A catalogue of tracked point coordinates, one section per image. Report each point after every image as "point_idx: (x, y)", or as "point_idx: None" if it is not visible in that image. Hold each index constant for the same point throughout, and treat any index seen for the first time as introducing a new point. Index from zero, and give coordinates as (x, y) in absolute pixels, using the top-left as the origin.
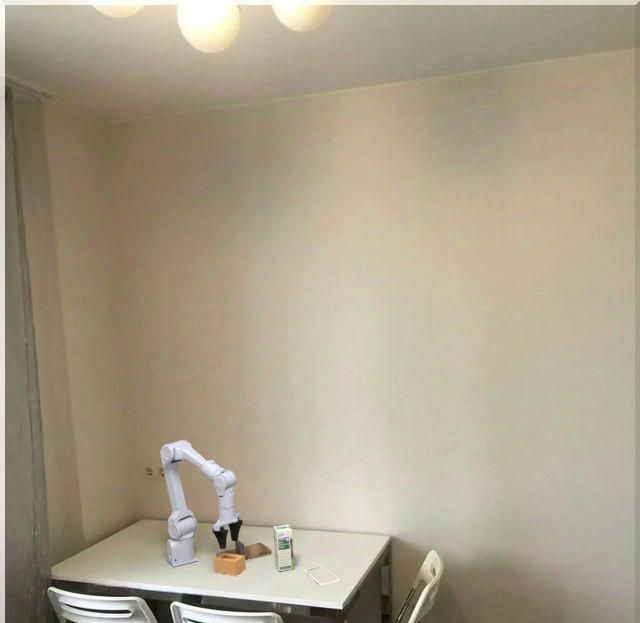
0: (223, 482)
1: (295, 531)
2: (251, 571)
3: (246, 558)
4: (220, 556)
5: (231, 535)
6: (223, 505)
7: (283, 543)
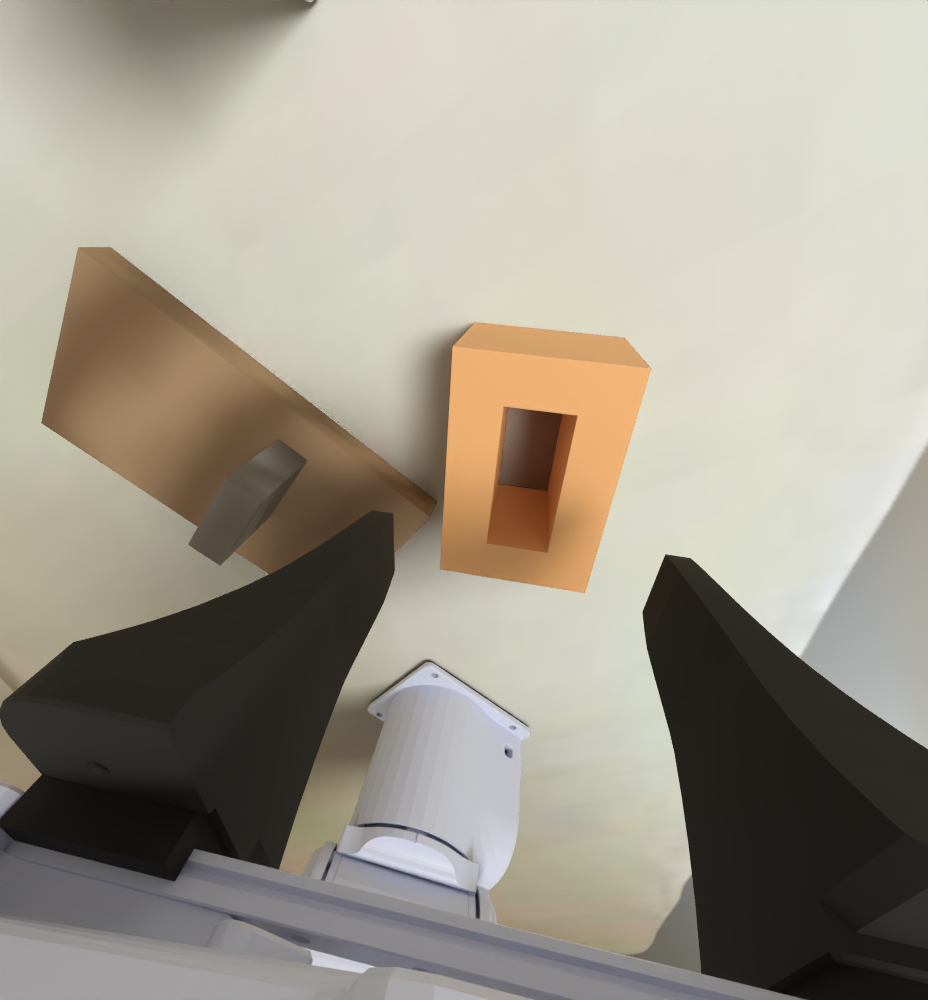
0: None
1: None
2: (499, 244)
3: (302, 406)
4: (523, 563)
5: (369, 622)
6: None
7: None
